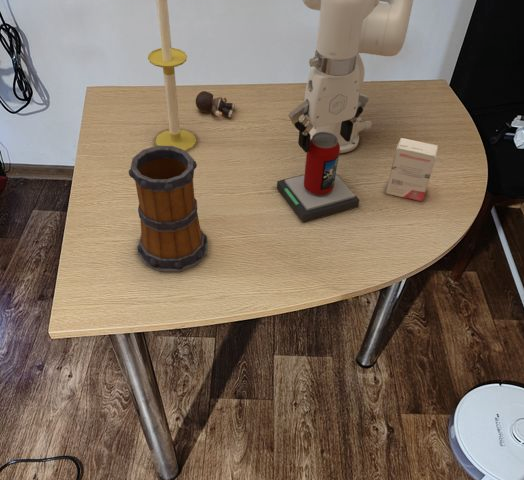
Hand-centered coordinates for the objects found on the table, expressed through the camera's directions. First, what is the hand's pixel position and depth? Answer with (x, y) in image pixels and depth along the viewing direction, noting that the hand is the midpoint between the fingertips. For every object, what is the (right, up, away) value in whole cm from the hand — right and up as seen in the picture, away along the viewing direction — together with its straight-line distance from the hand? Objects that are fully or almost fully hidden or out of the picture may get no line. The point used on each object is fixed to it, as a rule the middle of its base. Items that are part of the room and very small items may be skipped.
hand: (324, 143), depth 115 cm
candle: (-34, +9, +22) cm, 42 cm away
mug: (-32, -20, 0) cm, 38 cm away
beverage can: (-1, -7, +8) cm, 11 cm away
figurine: (-25, +19, +31) cm, 44 cm away
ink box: (+20, -7, +13) cm, 25 cm away
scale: (-1, -9, +10) cm, 13 cm away
